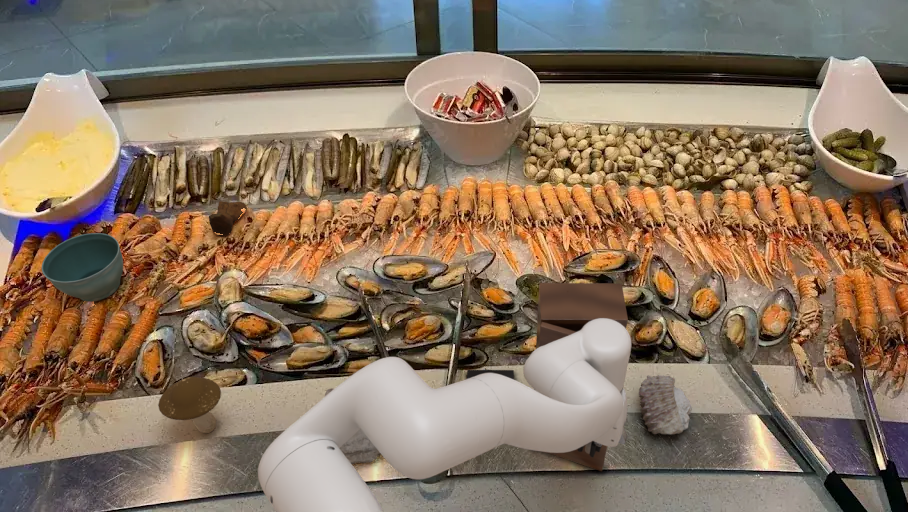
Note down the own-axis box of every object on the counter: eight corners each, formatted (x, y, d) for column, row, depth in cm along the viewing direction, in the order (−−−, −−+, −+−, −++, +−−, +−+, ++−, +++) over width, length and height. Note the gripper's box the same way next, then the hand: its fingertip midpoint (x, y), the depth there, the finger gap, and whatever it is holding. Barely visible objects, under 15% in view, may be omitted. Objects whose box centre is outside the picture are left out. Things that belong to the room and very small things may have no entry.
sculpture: (197, 209, 166) (221, 174, 178) (196, 238, 173) (220, 202, 184) (229, 218, 167) (252, 182, 179) (228, 246, 174) (249, 210, 185)
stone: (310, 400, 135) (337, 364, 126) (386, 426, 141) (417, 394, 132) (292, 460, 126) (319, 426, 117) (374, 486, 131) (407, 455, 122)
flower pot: (150, 274, 165) (134, 242, 158) (98, 321, 154) (78, 289, 146) (100, 257, 169) (82, 225, 162) (46, 301, 158) (24, 270, 151)
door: (593, 498, 123) (617, 380, 98) (523, 473, 127) (528, 353, 102) (603, 467, 128) (627, 346, 103) (534, 443, 132) (542, 321, 106)
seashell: (699, 440, 129) (678, 407, 125) (654, 453, 133) (633, 421, 128) (689, 386, 142) (670, 354, 138) (649, 399, 145) (629, 368, 141)
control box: (513, 420, 136) (513, 411, 133) (464, 420, 135) (464, 411, 133) (513, 374, 144) (513, 364, 142) (467, 374, 144) (466, 364, 141)
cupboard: (603, 442, 132) (628, 319, 107) (533, 442, 132) (540, 319, 106) (599, 407, 138) (621, 283, 112) (532, 407, 138) (539, 282, 112)
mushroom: (184, 409, 137) (159, 365, 127) (241, 406, 137) (220, 363, 127) (170, 450, 130) (142, 407, 120) (229, 447, 131) (206, 404, 121)
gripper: (540, 385, 100) (537, 447, 112) (640, 425, 95) (625, 485, 107) (559, 348, 105) (554, 412, 117) (655, 384, 100) (639, 446, 112)
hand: (588, 446), depth 112 cm, fingers closed
